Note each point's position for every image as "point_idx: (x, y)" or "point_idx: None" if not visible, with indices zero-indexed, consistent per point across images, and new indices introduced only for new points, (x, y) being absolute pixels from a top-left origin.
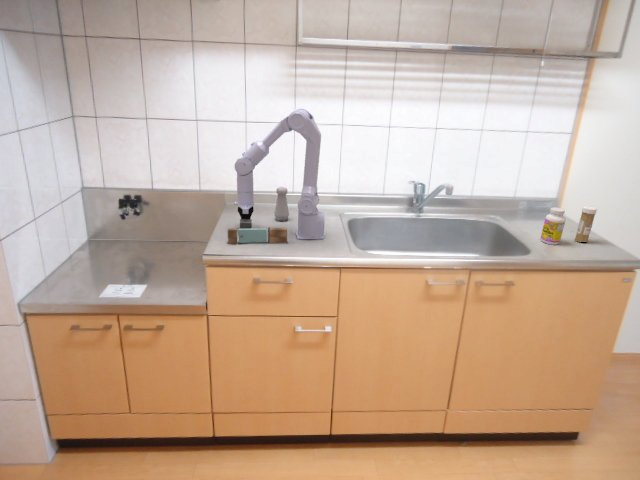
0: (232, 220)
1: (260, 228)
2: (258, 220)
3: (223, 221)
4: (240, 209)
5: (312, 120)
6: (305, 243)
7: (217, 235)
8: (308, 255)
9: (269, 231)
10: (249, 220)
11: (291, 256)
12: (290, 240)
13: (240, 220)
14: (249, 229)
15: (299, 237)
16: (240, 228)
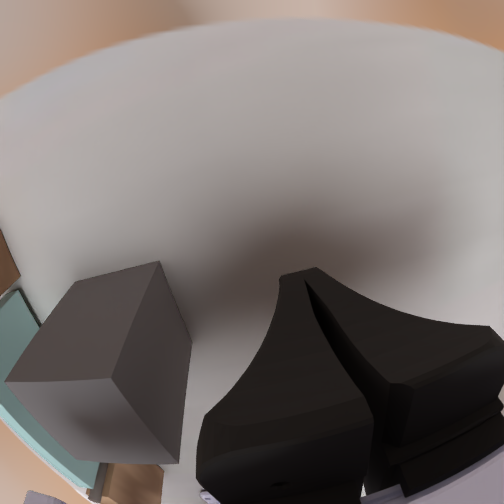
0: (499, 113)
1: (69, 470)
2: (488, 299)
3: (471, 41)
4: (264, 480)
5: None
6: (173, 498)
7: (93, 57)
8: (83, 490)
9: (94, 483)
10: (125, 453)
11: (46, 463)
12: (182, 477)
13: (68, 385)
14: (7, 422)
15: (209, 497)
16: (35, 343)
